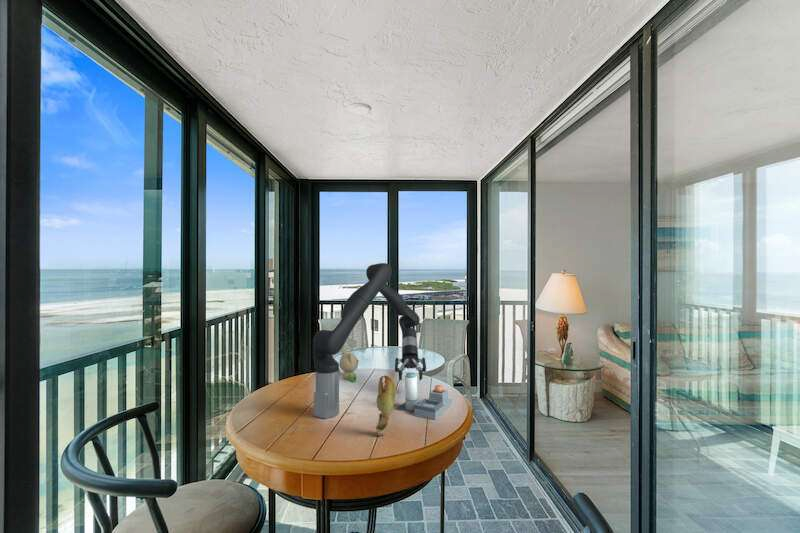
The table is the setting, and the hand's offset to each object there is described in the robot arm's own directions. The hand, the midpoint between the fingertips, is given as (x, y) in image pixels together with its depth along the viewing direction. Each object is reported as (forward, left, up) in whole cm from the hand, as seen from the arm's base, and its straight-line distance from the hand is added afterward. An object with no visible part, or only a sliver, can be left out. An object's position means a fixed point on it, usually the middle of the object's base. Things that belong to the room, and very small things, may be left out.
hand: (410, 379), depth 158 cm
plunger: (-1, -14, -3) cm, 14 cm away
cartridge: (-9, -5, -9) cm, 14 cm away
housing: (-7, -14, -9) cm, 18 cm away
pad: (-8, -4, -9) cm, 13 cm away
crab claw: (-35, -8, -9) cm, 37 cm away
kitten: (+13, +44, -9) cm, 47 cm away
